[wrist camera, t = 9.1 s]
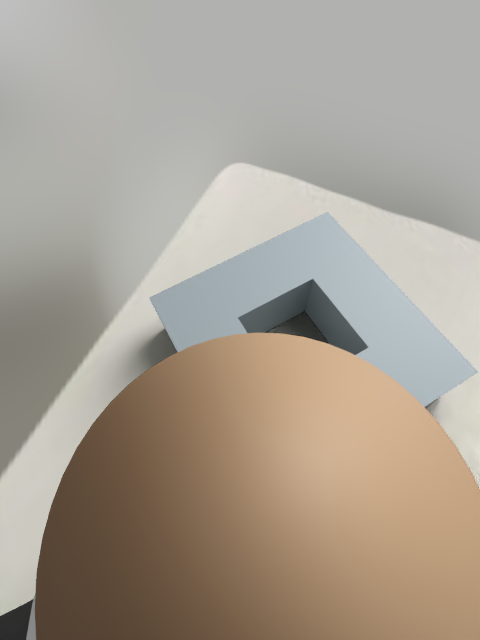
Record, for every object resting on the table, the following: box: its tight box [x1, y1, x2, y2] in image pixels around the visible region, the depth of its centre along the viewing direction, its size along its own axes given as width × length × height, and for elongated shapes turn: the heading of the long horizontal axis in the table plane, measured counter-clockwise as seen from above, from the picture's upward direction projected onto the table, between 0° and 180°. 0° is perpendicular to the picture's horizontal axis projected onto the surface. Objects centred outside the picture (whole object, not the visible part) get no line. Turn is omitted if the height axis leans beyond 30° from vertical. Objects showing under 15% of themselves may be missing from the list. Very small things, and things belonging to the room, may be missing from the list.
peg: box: [35, 333, 480, 640], centre depth 8 cm, size 4×4×11 cm
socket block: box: [150, 212, 478, 407], centre depth 26 cm, size 16×16×5 cm
